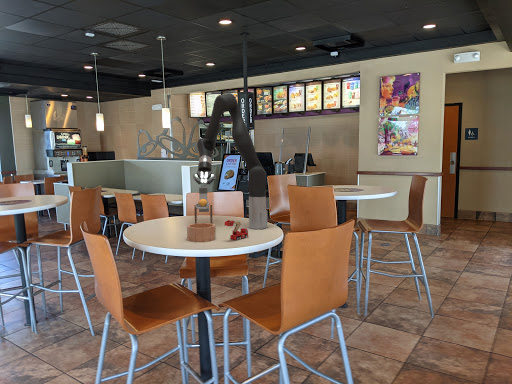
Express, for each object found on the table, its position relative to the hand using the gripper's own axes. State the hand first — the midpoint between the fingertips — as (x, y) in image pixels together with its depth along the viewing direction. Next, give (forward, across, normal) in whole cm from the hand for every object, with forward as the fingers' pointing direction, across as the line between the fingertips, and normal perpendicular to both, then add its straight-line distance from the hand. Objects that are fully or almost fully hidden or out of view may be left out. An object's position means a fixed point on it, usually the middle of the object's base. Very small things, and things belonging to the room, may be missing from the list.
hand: (203, 189), depth 204 cm
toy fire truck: (+33, -18, +2) cm, 37 cm away
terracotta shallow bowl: (+32, -1, +1) cm, 32 cm away
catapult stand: (+20, -1, -10) cm, 23 cm away
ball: (+11, 0, +3) cm, 12 cm away
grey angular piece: (+14, -1, -1) cm, 14 cm away
